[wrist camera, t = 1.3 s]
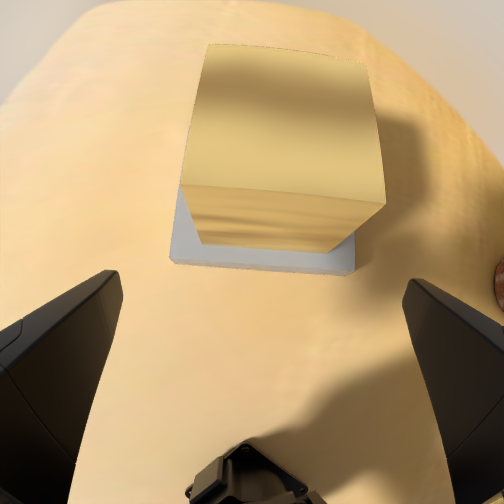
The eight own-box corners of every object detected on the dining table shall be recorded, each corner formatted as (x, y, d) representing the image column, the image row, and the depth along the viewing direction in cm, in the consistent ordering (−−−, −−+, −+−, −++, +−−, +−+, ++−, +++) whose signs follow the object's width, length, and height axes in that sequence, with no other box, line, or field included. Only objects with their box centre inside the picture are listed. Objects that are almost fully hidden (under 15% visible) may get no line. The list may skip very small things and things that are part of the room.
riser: (345, 275, 23) (355, 270, 21) (174, 263, 22) (169, 257, 20) (341, 153, 25) (349, 140, 23) (192, 139, 24) (189, 124, 22)
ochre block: (326, 254, 21) (386, 203, 12) (201, 244, 20) (179, 184, 12) (324, 147, 23) (365, 63, 14) (215, 137, 22) (208, 44, 14)
